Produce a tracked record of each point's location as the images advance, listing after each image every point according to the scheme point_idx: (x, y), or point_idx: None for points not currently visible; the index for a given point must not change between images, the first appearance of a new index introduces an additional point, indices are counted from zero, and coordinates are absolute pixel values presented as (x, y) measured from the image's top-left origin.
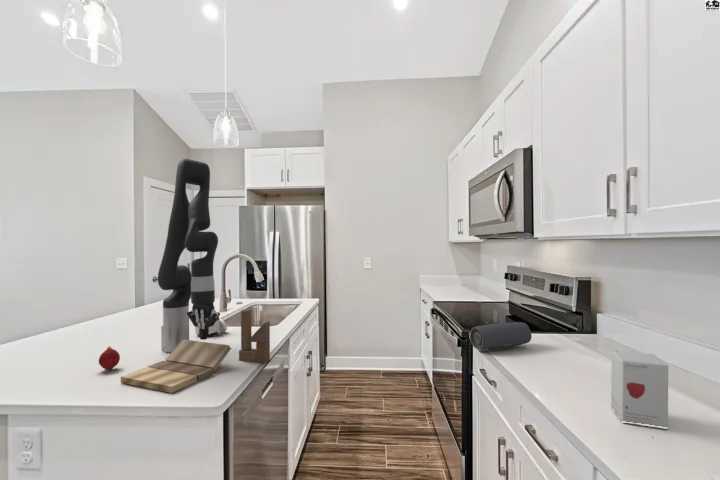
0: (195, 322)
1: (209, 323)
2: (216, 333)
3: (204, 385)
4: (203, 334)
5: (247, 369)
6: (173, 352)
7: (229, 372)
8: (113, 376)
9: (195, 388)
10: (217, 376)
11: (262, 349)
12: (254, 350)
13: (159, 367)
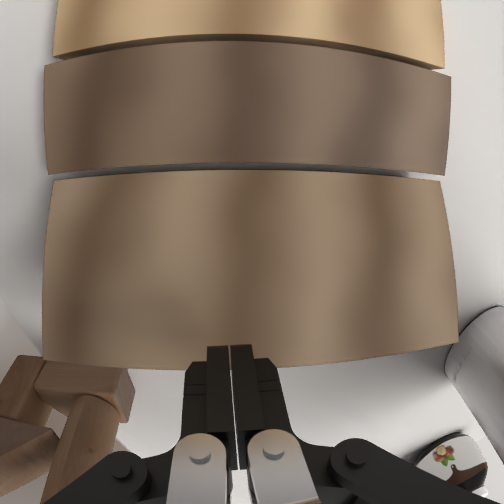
0: (360, 489)
1: (74, 496)
2: (414, 464)
3: (15, 59)
4: (207, 386)
5: (7, 284)
6: (439, 235)
7: (30, 227)
8: (500, 29)
9: (29, 19)
10: (35, 162)
11: (1, 392)
12: (56, 402)
13: (384, 69)
